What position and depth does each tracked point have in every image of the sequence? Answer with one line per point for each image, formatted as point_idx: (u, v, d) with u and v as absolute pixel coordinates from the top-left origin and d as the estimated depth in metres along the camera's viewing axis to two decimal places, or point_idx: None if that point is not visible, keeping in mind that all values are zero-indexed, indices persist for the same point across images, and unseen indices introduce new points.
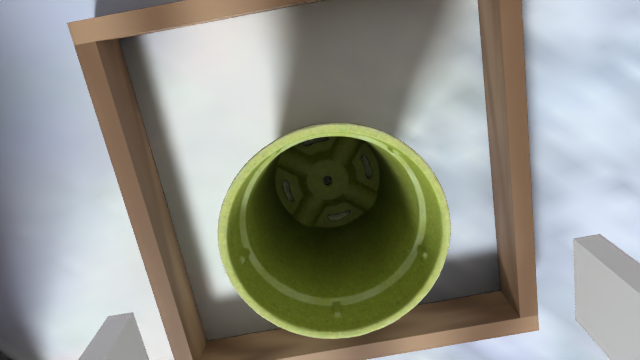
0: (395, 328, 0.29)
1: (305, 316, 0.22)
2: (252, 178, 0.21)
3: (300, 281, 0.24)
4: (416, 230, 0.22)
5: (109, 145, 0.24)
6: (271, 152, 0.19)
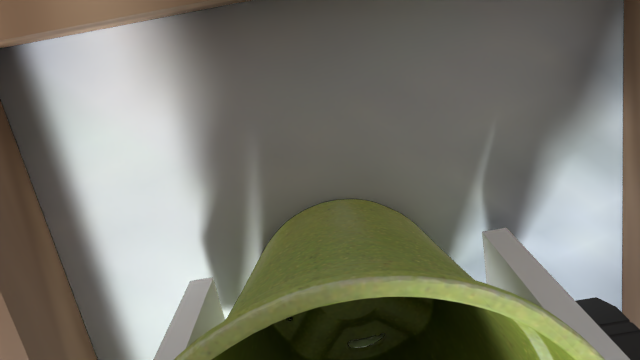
0: None
1: None
2: None
3: None
4: None
5: None
6: (230, 344, 0.08)
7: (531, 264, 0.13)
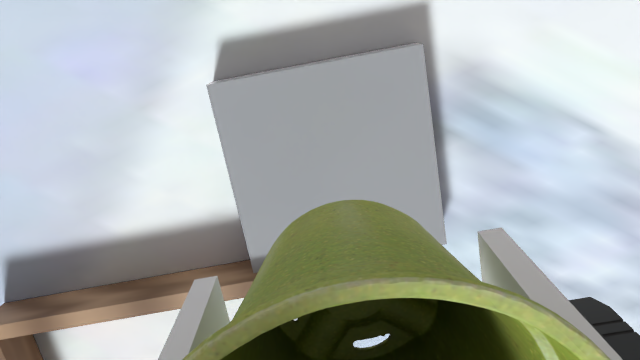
0: None
1: None
2: None
3: None
4: None
5: None
6: (237, 345, 0.08)
7: (525, 264, 0.13)
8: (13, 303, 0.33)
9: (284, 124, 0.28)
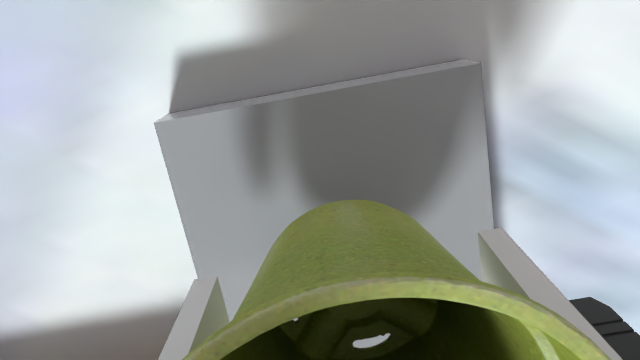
0: None
1: None
2: None
3: None
4: None
5: None
6: (237, 345, 0.08)
7: (525, 264, 0.13)
8: None
9: (271, 179, 0.19)
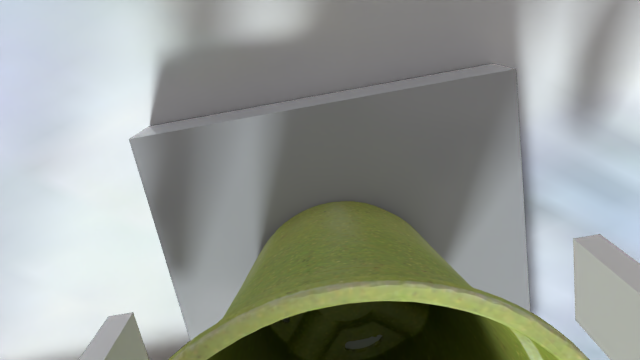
0: None
1: None
2: None
3: None
4: None
5: None
6: (219, 348, 0.08)
7: None
8: None
9: (267, 204, 0.16)
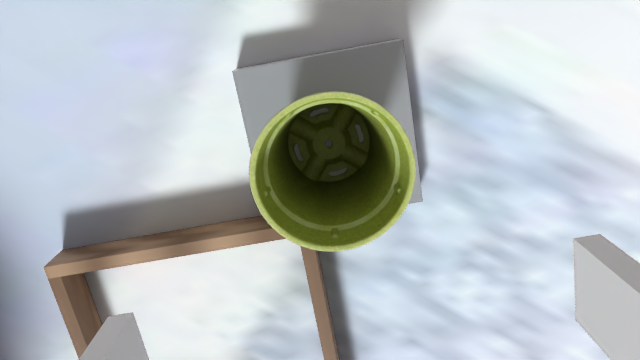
0: None
1: (311, 236, 0.30)
2: (273, 134, 0.29)
3: (307, 214, 0.32)
4: (393, 173, 0.30)
5: (70, 331, 0.40)
6: (287, 112, 0.27)
7: None
8: (70, 250, 0.41)
9: None
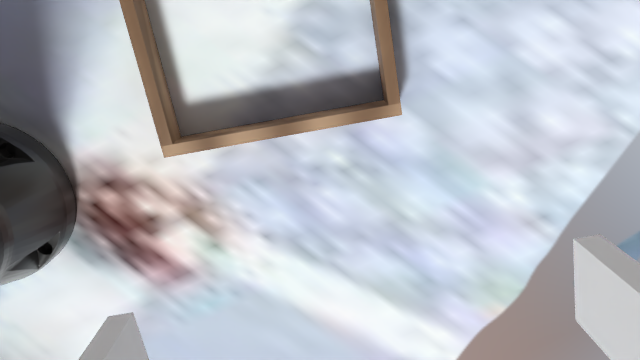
0: (307, 117, 0.43)
1: None
2: None
3: None
4: None
5: None
6: None
7: None
8: None
9: None
